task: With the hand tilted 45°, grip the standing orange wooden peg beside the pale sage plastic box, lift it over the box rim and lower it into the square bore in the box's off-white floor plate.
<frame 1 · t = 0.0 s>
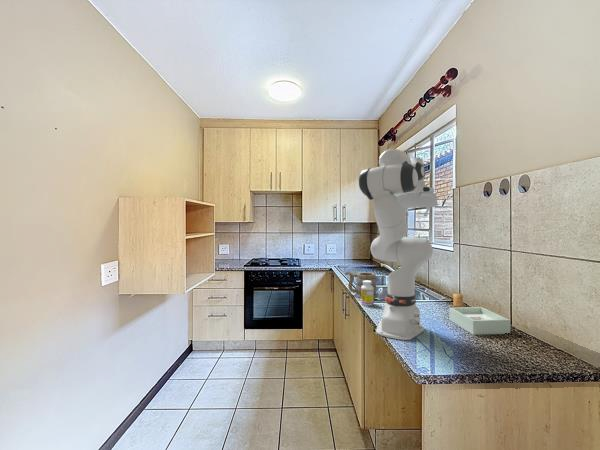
hand: (415, 216, 152), 48 cm above the worktop, tool pointing down, fingers open, 8 cm apart
peg: (458, 315, 141), on the worktop
supplement bottle: (367, 304, 162), on the worktop
bore box: (477, 326, 126), on the worktop
tankard: (360, 296, 180), on the worktop
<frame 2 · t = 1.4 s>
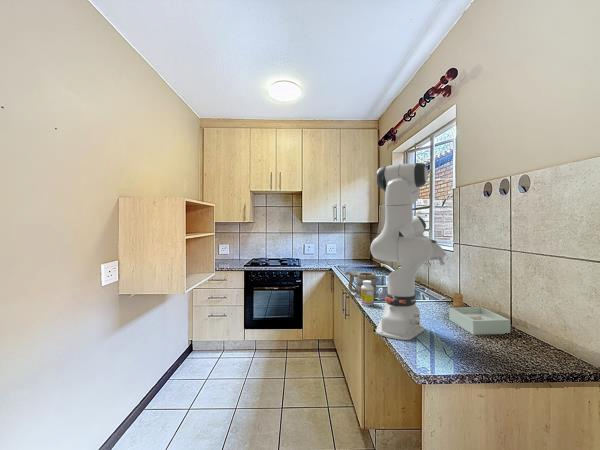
hand: (436, 265, 152), 22 cm above the worktop, tool tilted 45°, fingers open, 8 cm apart
nothing on the worktop moved.
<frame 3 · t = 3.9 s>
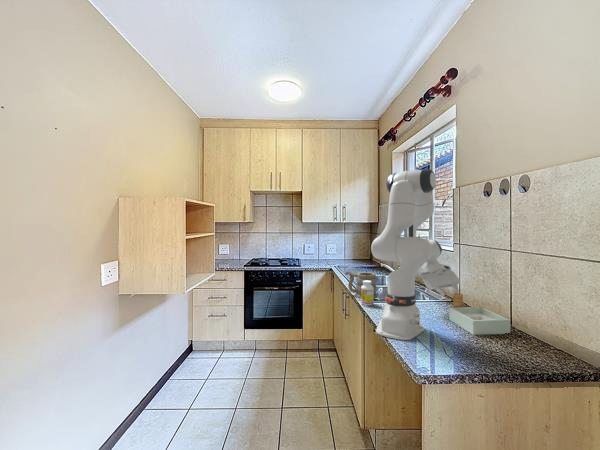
hand: (451, 294, 144), 9 cm above the worktop, tool tilted 45°, fingers open, 8 cm apart
nothing on the worktop moved.
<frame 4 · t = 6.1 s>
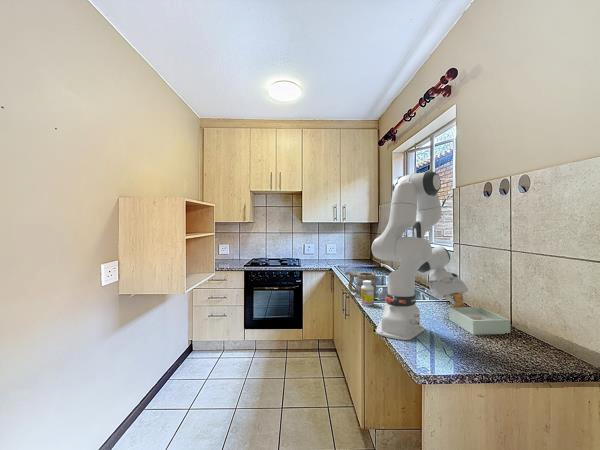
hand: (459, 303, 140), 6 cm above the worktop, tool tilted 45°, fingers closed on peg, 4 cm apart
peg: (458, 315, 141), on the worktop, touching gripper
everything else where it was.
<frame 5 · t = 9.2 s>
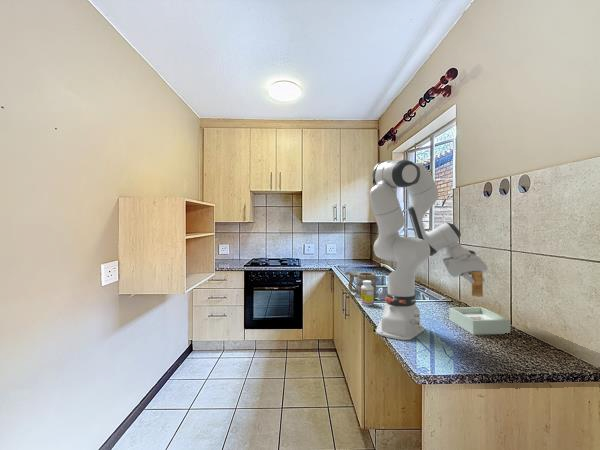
hand: (478, 282, 125), 19 cm above the worktop, tool tilted 45°, fingers closed on peg, 4 cm apart
peg: (477, 295, 125), point 13 cm above the worktop, touching gripper
everything else where it was.
when the fingers open (7 cm above the worktop, at t = 12.6 s): peg drops 1 cm, resting in bore box.
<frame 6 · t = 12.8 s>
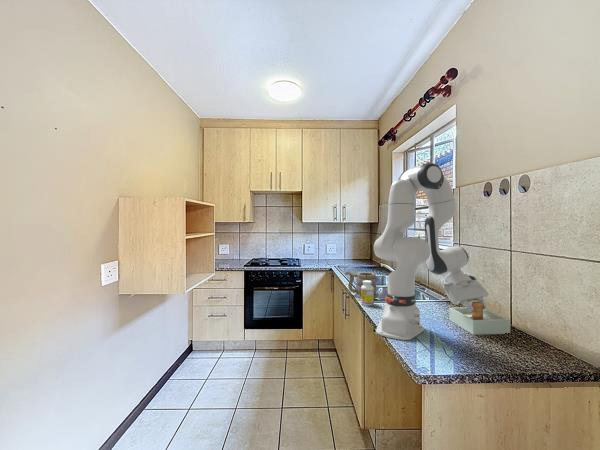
hand: (478, 309, 125), 7 cm above the worktop, tool tilted 45°, fingers open, 6 cm apart
peg: (477, 326, 125), resting in bore box
everything else where it was.
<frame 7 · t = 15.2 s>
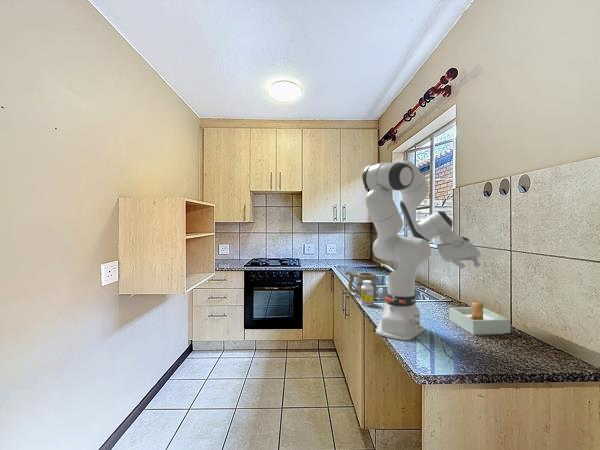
hand: (470, 267, 128), 25 cm above the worktop, tool tilted 45°, fingers open, 8 cm apart
nothing on the worktop moved.
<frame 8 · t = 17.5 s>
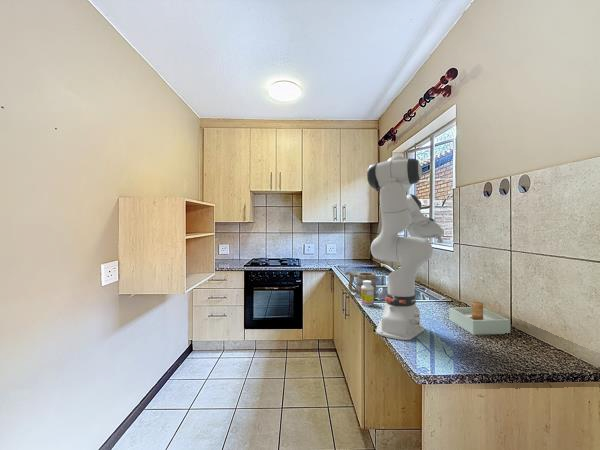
hand: (434, 242, 148), 34 cm above the worktop, tool tilted 45°, fingers open, 8 cm apart
nothing on the worktop moved.
at the end: peg 0.1 cm off-centre on the bore box, point 0.0 cm above the bore box's base; peg tilted 0°; the gripper is holding nothing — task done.
